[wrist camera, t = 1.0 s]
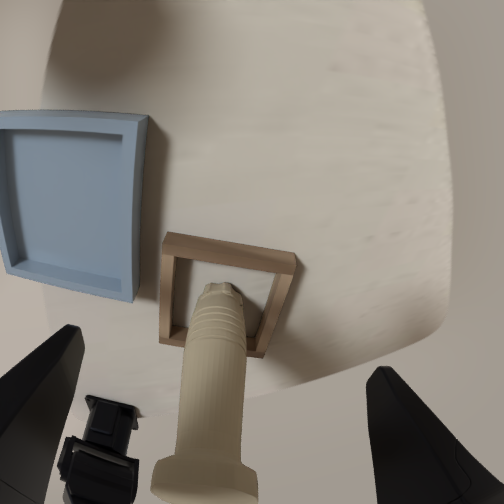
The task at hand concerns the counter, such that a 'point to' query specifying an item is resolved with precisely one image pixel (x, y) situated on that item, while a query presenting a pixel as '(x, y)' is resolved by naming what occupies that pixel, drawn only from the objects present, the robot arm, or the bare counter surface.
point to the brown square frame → (225, 255)
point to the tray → (73, 199)
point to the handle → (210, 409)
